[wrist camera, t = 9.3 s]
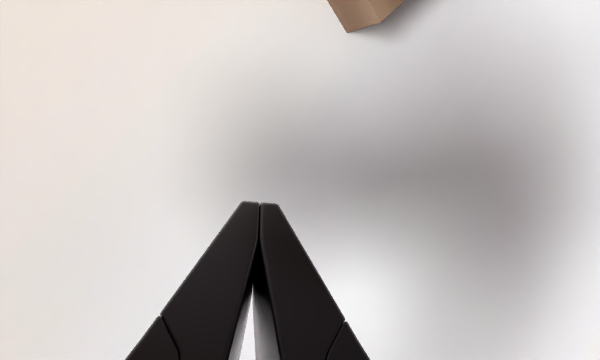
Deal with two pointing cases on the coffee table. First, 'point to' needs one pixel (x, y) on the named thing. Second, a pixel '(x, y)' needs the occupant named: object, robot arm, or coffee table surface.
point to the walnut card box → (362, 12)
